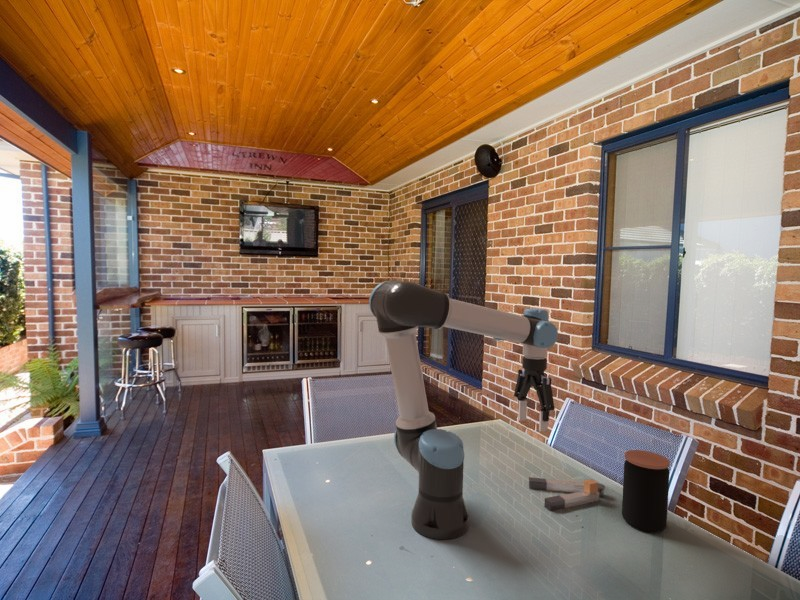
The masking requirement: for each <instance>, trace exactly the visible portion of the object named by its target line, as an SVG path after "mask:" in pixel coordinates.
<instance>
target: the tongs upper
mask: <svg viewBox="0 0 800 600" xmlns="http://www.w3.org/2000/svg"><path fill="white" fill-rule="evenodd" d="M528 488H529V489H530V490H539V491H540V490H541V491H551V492H552V491H553V492H564V493H576V492H581V491H584V481H571V480H560V479H549V478H540V477H528Z"/></svg>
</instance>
